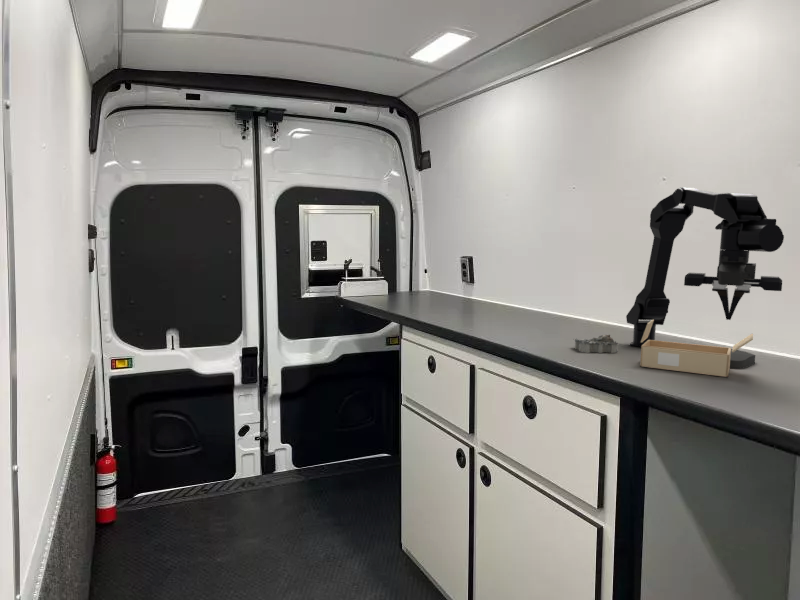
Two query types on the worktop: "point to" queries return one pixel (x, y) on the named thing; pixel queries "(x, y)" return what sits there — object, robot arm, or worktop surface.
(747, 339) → the flap
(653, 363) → the carton
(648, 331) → the flap
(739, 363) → the media streaming box
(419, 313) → the worktop surface
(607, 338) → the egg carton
